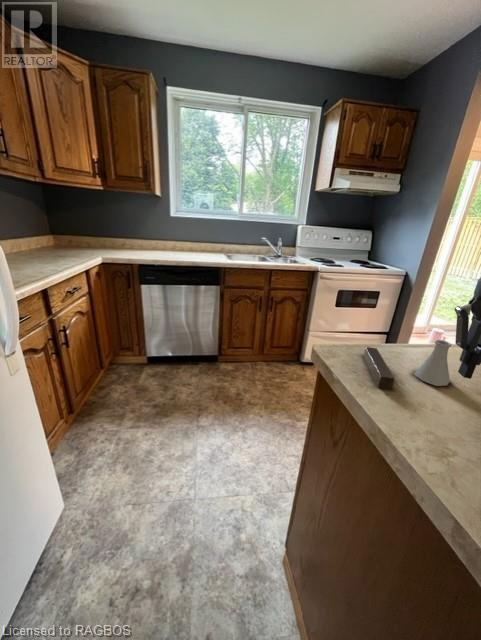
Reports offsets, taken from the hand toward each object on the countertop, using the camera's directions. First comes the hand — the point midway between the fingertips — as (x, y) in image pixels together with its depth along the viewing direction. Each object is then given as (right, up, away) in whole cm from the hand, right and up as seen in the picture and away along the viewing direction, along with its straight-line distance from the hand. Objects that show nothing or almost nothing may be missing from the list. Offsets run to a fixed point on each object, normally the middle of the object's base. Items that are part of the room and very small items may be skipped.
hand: (464, 375), depth 66 cm
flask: (-7, -1, +2) cm, 7 cm away
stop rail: (-19, 0, +4) cm, 20 cm away
